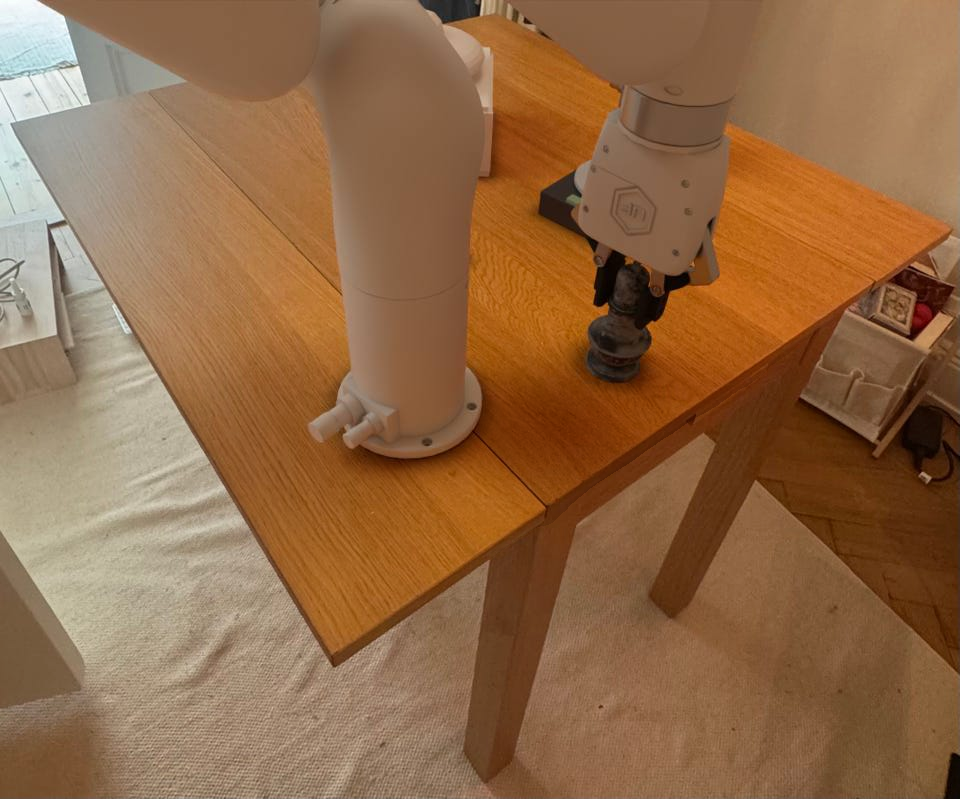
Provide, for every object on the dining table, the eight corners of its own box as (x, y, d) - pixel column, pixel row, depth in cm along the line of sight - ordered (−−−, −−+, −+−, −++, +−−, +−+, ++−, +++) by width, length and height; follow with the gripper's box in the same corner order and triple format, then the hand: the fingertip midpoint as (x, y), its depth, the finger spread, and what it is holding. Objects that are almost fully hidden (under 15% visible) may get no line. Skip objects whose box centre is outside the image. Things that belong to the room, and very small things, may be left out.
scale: (622, 256, 81) (628, 227, 78) (537, 213, 86) (541, 184, 84) (686, 207, 89) (694, 179, 86) (605, 170, 94) (610, 142, 91)
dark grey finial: (642, 345, 71) (670, 241, 62) (645, 388, 67) (676, 284, 58) (582, 339, 71) (602, 235, 63) (581, 381, 67) (603, 277, 59)
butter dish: (489, 176, 92) (497, 45, 80) (345, 169, 91) (332, 36, 80) (491, 112, 104) (497, -11, 92) (363, 105, 103) (354, -19, 92)
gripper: (548, 86, 53) (526, 288, 66) (757, 172, 46) (685, 378, 59) (607, 57, 57) (575, 253, 70) (808, 132, 50) (729, 334, 63)
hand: (626, 308), depth 65 cm, fingers closed on dark grey finial, 3 cm apart
